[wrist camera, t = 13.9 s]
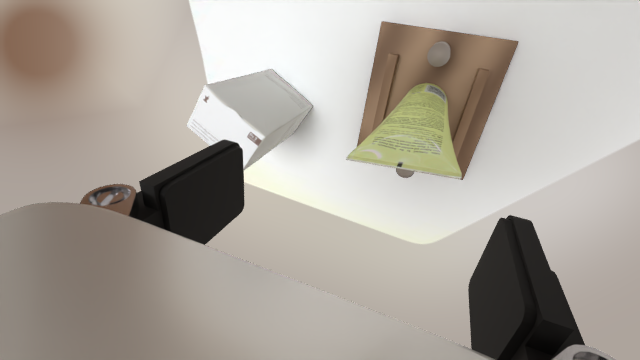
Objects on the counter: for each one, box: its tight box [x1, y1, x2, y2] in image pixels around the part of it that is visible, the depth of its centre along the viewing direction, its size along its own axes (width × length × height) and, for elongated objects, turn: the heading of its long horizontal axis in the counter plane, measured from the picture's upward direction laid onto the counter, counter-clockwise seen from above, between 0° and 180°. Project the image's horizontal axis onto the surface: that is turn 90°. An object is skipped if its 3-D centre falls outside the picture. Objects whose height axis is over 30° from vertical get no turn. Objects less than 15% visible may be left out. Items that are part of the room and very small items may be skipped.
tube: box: [346, 83, 462, 179], centre depth 28 cm, size 6×5×20 cm
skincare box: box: [187, 69, 313, 171], centre depth 38 cm, size 8×6×15 cm
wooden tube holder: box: [357, 22, 518, 180], centre depth 34 cm, size 14×16×8 cm
